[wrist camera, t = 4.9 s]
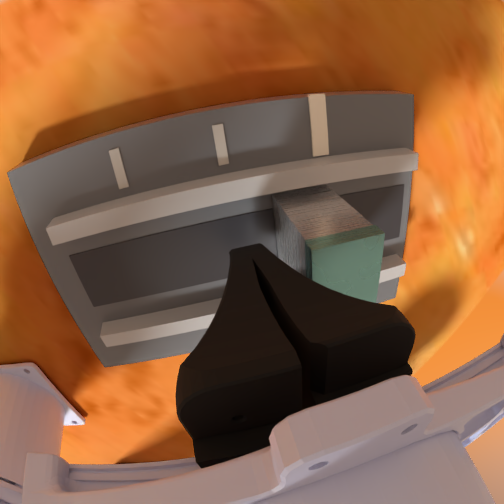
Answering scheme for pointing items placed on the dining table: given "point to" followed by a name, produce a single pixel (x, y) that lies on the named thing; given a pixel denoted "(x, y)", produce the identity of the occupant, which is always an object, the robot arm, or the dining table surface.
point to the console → (204, 206)
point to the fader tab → (328, 241)
